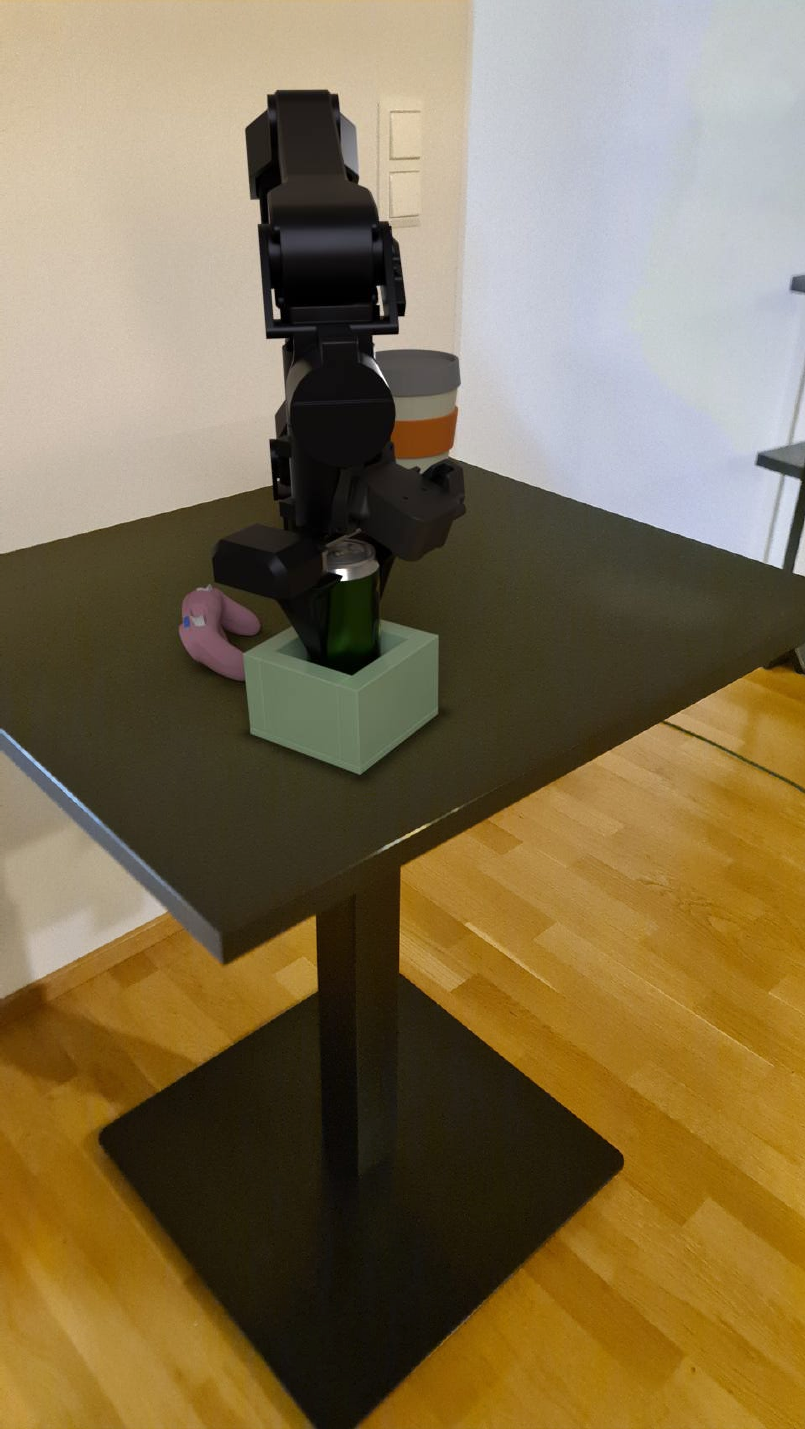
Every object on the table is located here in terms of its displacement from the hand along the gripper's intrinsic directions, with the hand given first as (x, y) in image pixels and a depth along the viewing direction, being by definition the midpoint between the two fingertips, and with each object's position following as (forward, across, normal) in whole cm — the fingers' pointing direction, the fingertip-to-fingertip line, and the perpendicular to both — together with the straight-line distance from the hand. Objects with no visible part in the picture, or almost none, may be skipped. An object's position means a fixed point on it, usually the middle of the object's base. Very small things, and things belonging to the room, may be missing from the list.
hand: (342, 641), depth 73 cm
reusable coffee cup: (+7, +50, +28) cm, 58 cm away
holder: (+7, 0, 0) cm, 7 cm away
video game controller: (+7, +3, +15) cm, 17 cm away
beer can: (+5, 0, 0) cm, 5 cm away
